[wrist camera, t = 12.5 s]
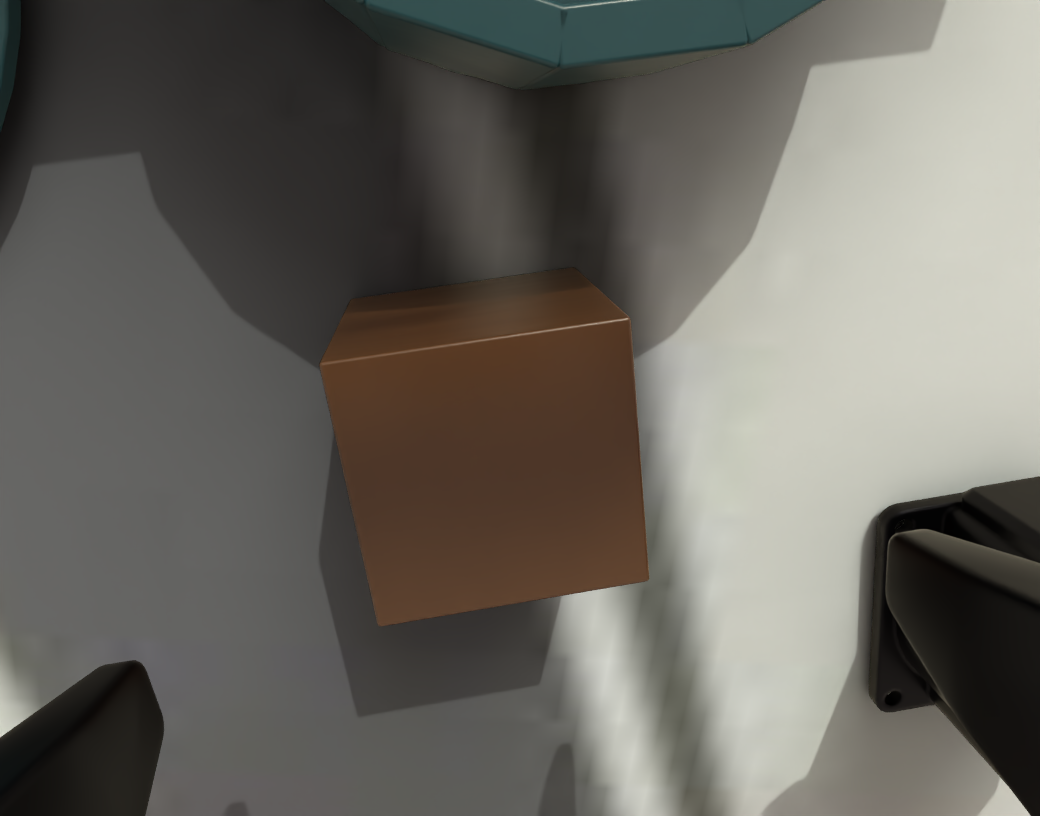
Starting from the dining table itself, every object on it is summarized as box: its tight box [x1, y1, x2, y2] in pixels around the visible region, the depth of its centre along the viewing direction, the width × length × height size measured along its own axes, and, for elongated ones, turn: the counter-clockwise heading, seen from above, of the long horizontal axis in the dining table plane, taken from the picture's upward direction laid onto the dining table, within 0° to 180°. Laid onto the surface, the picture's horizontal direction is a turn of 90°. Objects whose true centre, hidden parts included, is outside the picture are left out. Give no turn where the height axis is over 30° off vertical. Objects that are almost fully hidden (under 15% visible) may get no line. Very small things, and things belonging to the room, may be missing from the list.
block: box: [319, 267, 649, 626], centre depth 15 cm, size 5×5×5 cm
